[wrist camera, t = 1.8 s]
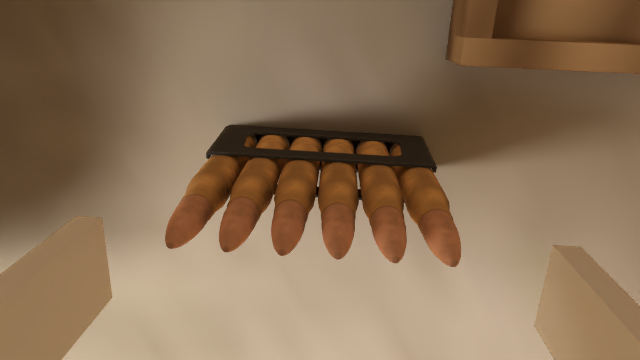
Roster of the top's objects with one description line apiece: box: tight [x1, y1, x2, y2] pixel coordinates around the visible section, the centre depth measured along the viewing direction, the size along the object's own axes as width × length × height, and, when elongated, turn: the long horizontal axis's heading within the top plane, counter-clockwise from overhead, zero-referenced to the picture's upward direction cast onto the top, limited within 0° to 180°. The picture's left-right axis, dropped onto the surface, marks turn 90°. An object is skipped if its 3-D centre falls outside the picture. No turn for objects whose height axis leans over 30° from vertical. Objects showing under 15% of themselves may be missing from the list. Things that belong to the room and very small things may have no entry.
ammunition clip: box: [165, 125, 461, 267], centre depth 20 cm, size 11×2×12 cm, turn 87°
